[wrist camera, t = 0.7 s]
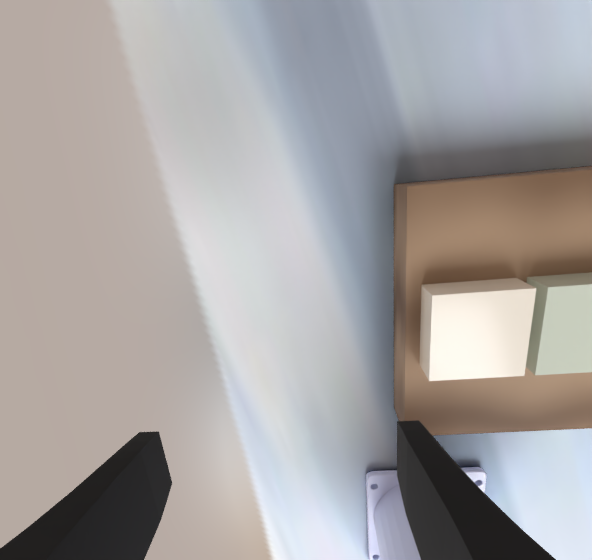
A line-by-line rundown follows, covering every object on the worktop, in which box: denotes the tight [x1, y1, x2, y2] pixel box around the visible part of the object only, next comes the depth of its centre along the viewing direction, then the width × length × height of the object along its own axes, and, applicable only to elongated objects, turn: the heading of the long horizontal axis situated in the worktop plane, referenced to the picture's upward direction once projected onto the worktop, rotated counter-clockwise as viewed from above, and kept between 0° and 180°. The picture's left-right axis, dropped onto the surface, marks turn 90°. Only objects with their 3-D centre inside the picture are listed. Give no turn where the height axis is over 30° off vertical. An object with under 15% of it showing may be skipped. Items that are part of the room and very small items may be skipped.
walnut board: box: [394, 166, 592, 435], centre depth 18 cm, size 14×11×2 cm
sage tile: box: [526, 272, 592, 375], centre depth 16 cm, size 4×4×2 cm
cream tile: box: [420, 278, 536, 381], centre depth 16 cm, size 4×4×2 cm
